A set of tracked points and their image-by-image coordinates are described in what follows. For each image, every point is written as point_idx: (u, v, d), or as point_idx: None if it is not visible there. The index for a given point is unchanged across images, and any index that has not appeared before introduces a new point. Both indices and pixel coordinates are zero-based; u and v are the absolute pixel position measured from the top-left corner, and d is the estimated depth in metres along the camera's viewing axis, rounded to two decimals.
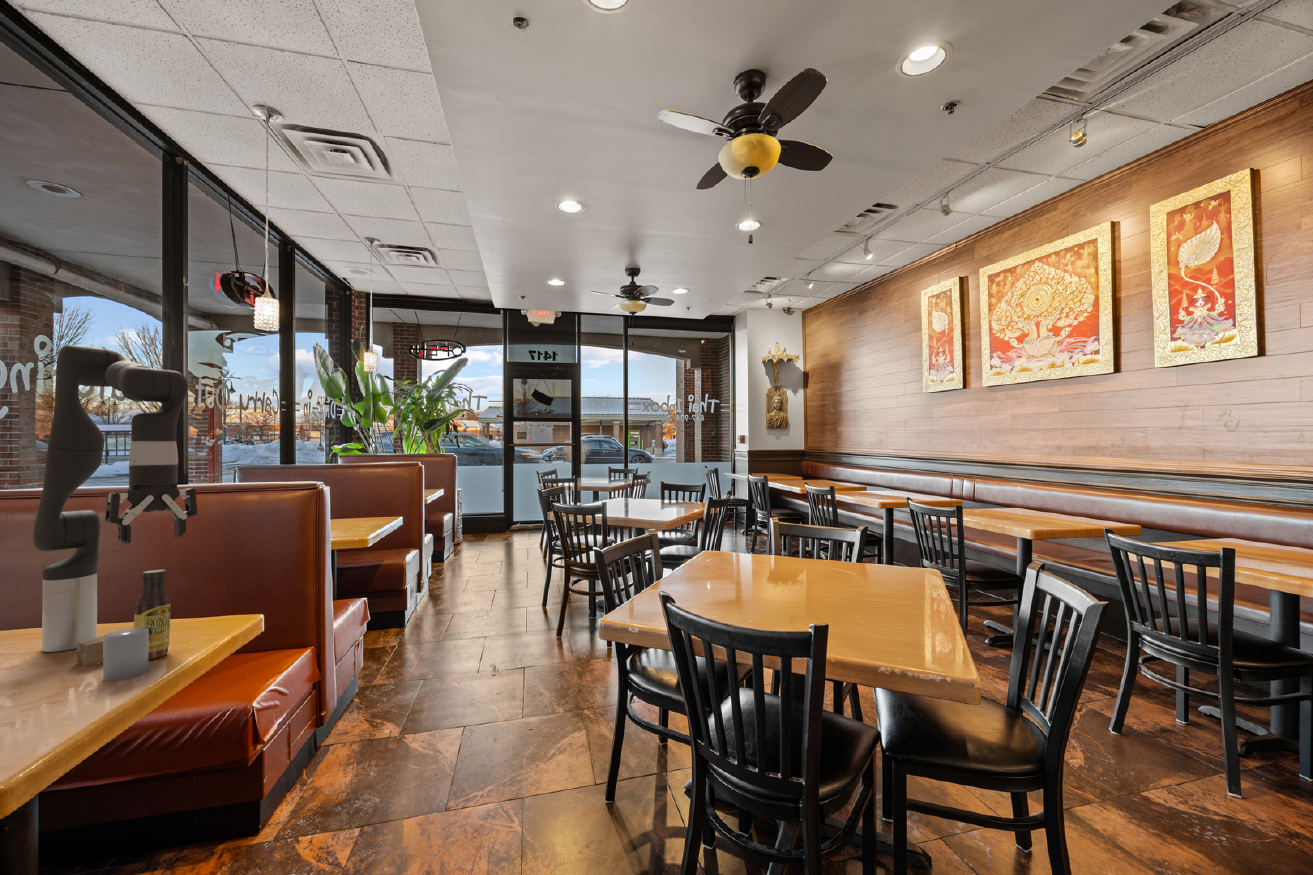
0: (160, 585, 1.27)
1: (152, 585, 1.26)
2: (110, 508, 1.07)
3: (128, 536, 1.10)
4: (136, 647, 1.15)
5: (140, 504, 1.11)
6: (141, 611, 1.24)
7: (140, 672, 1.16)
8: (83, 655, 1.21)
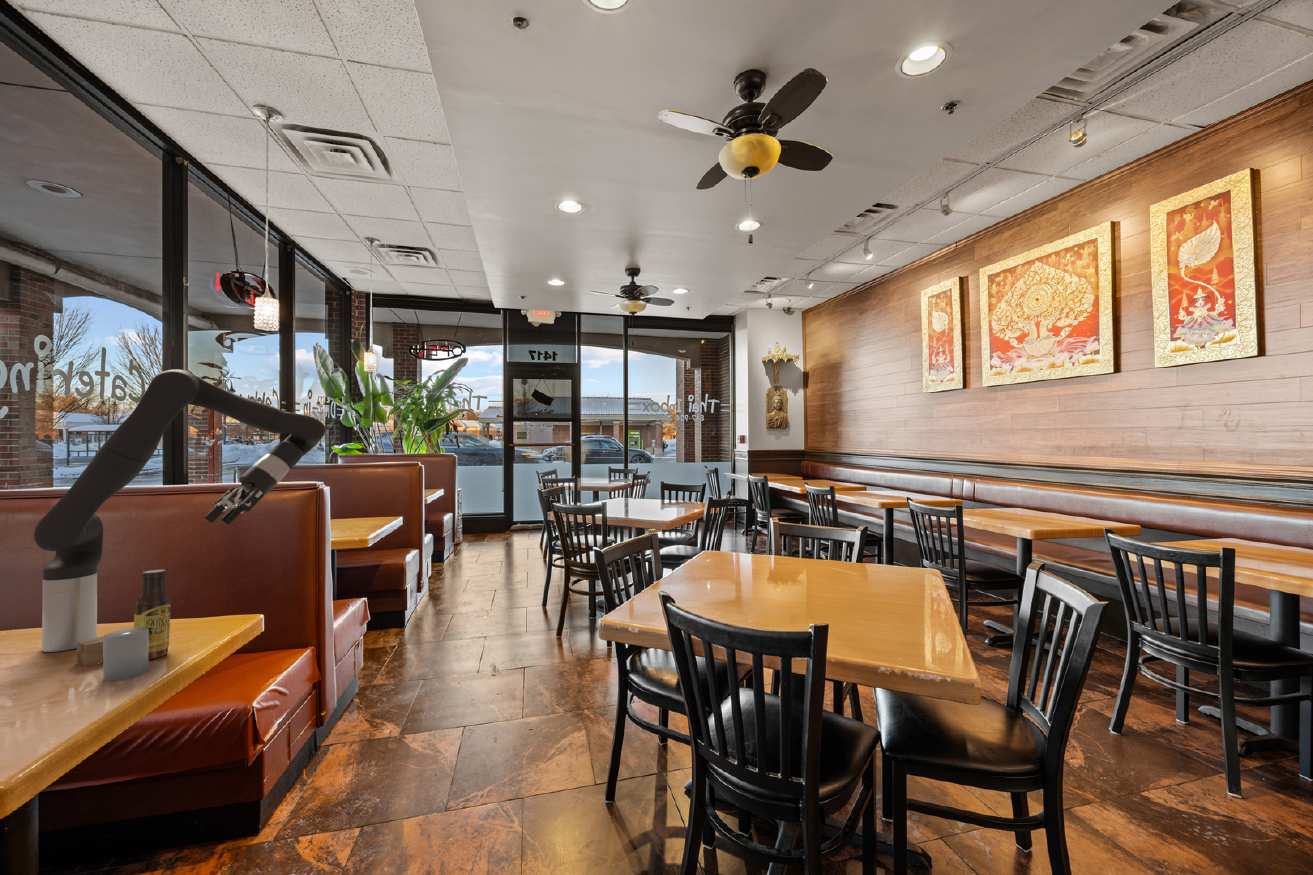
0: (160, 585, 1.27)
1: (152, 585, 1.26)
2: (255, 502, 1.40)
3: None
4: (136, 647, 1.15)
5: None
6: (141, 611, 1.24)
7: (140, 672, 1.16)
8: (83, 655, 1.21)
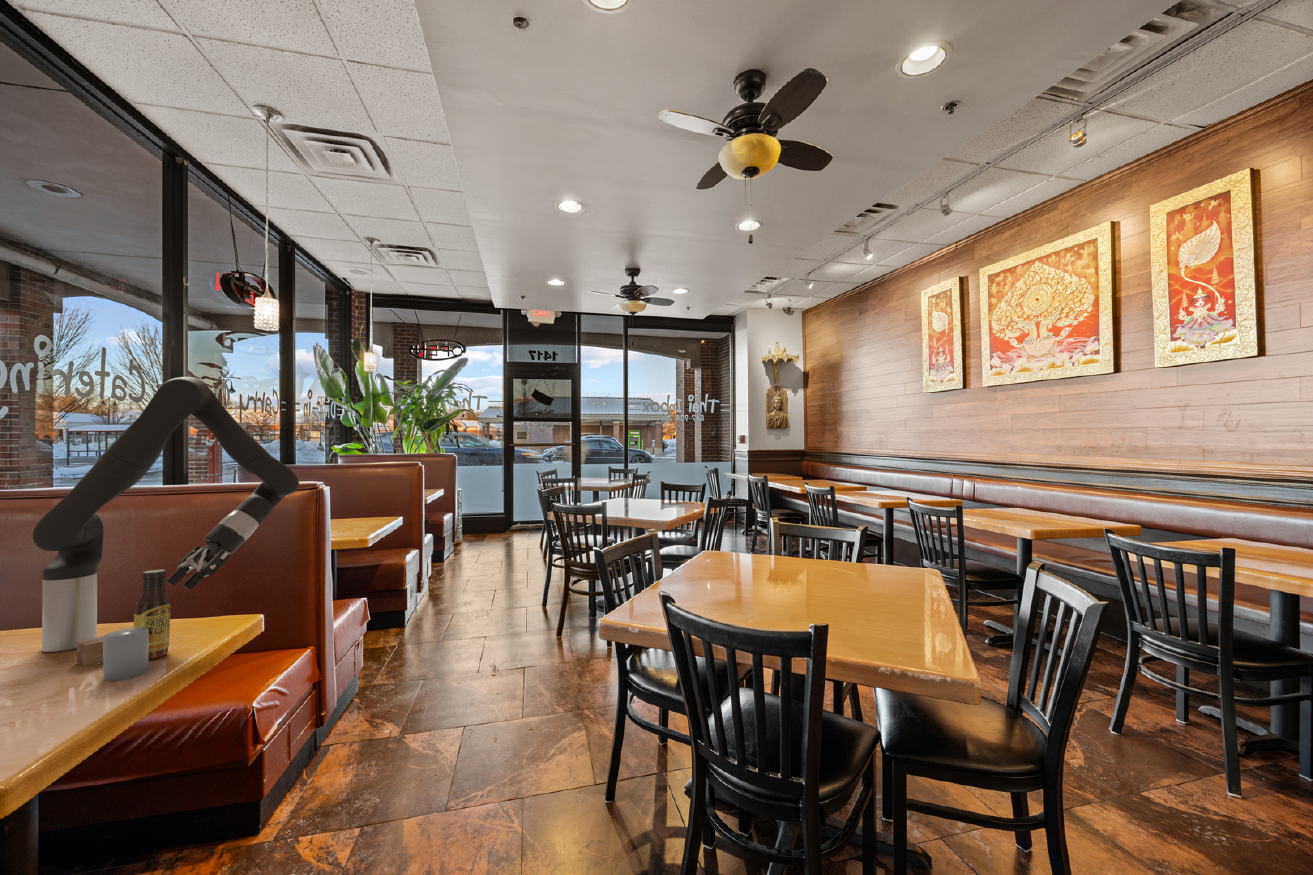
0: (160, 585, 1.27)
1: (152, 585, 1.26)
2: (220, 564, 1.33)
3: None
4: (136, 647, 1.15)
5: None
6: (141, 611, 1.24)
7: (140, 672, 1.16)
8: (83, 655, 1.21)
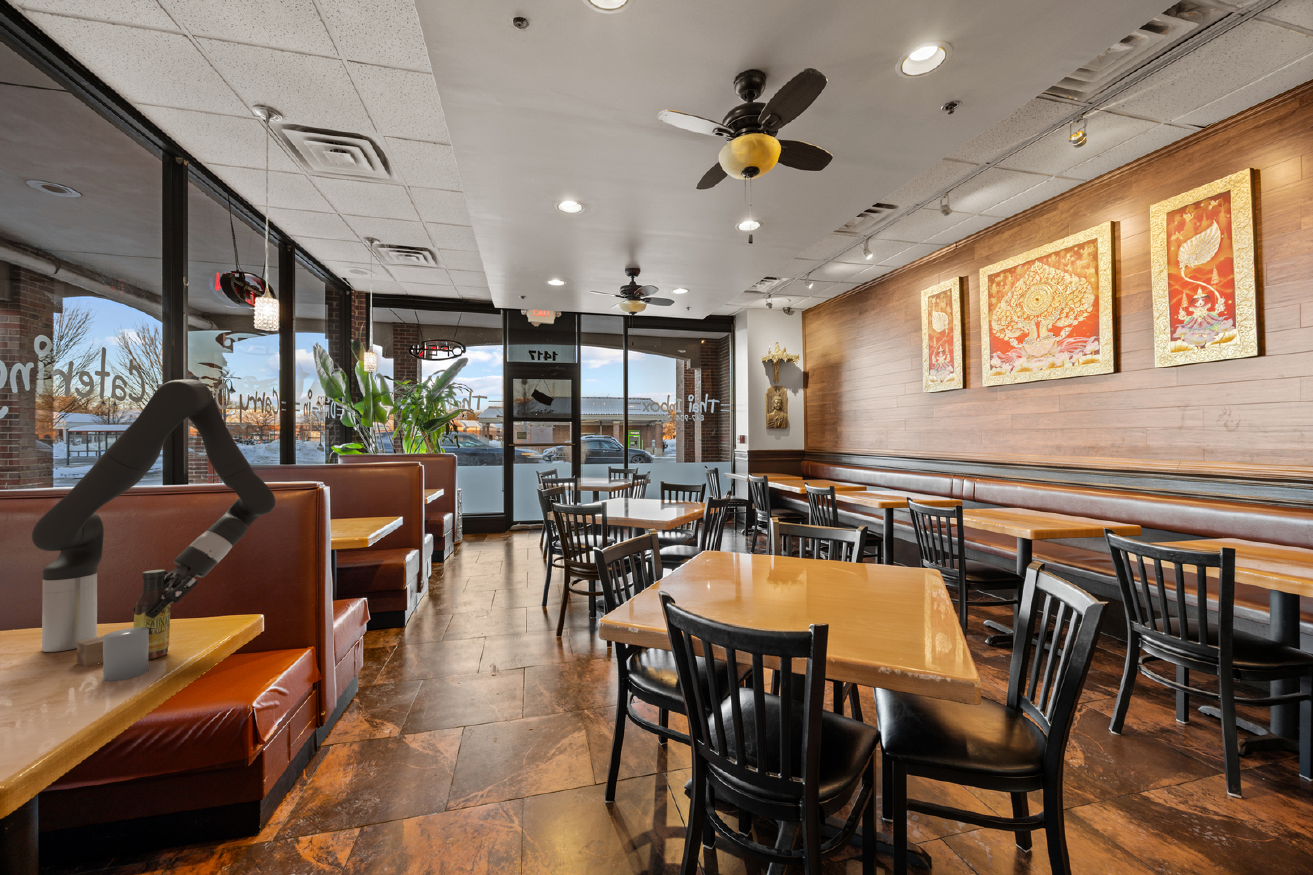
0: (159, 585, 1.27)
1: (152, 585, 1.26)
2: (186, 592, 1.27)
3: None
4: (136, 647, 1.15)
5: None
6: (141, 611, 1.24)
7: (140, 672, 1.16)
8: (83, 655, 1.21)
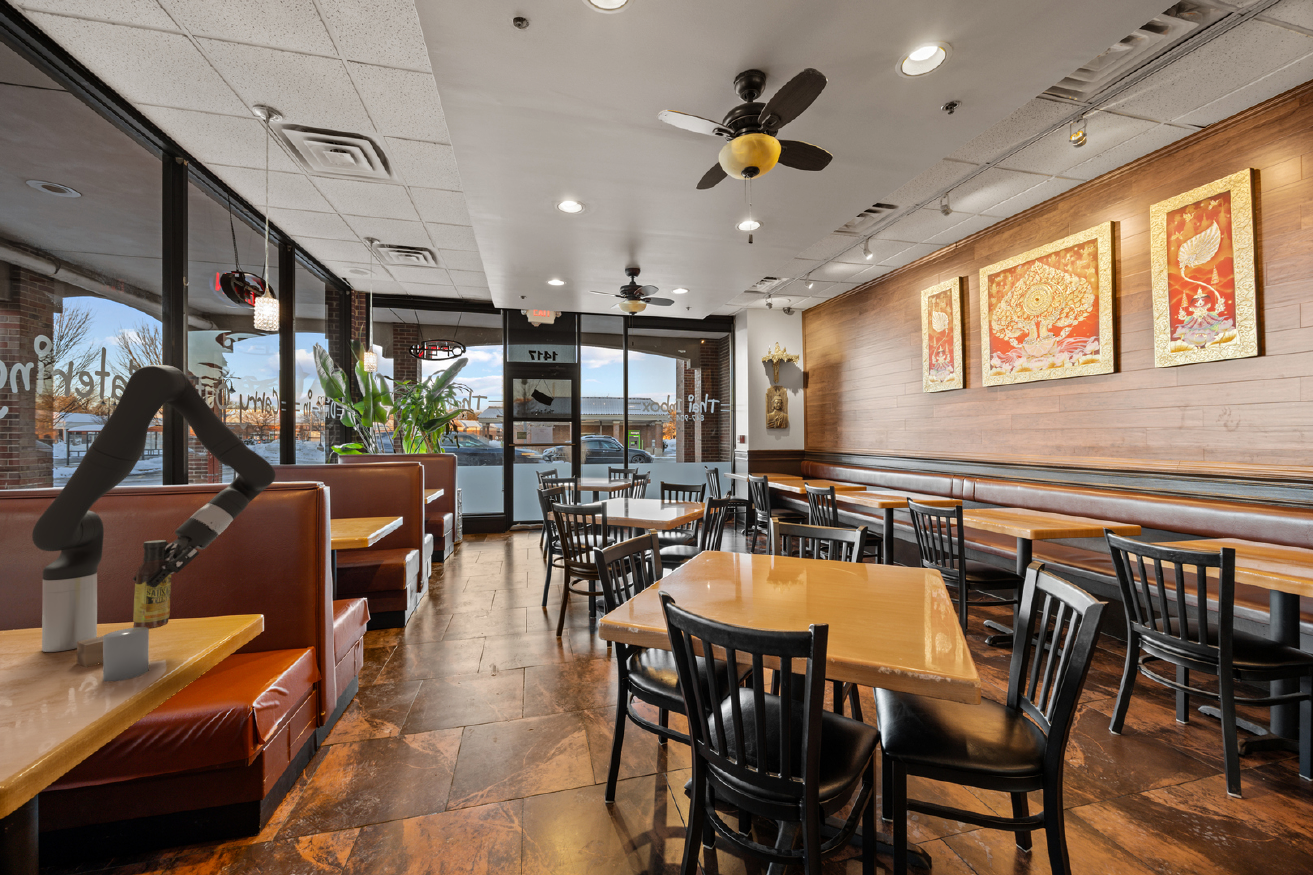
0: (160, 555, 1.27)
1: (153, 555, 1.26)
2: (187, 562, 1.27)
3: None
4: (136, 647, 1.15)
5: None
6: (142, 580, 1.24)
7: (140, 672, 1.16)
8: (83, 655, 1.21)
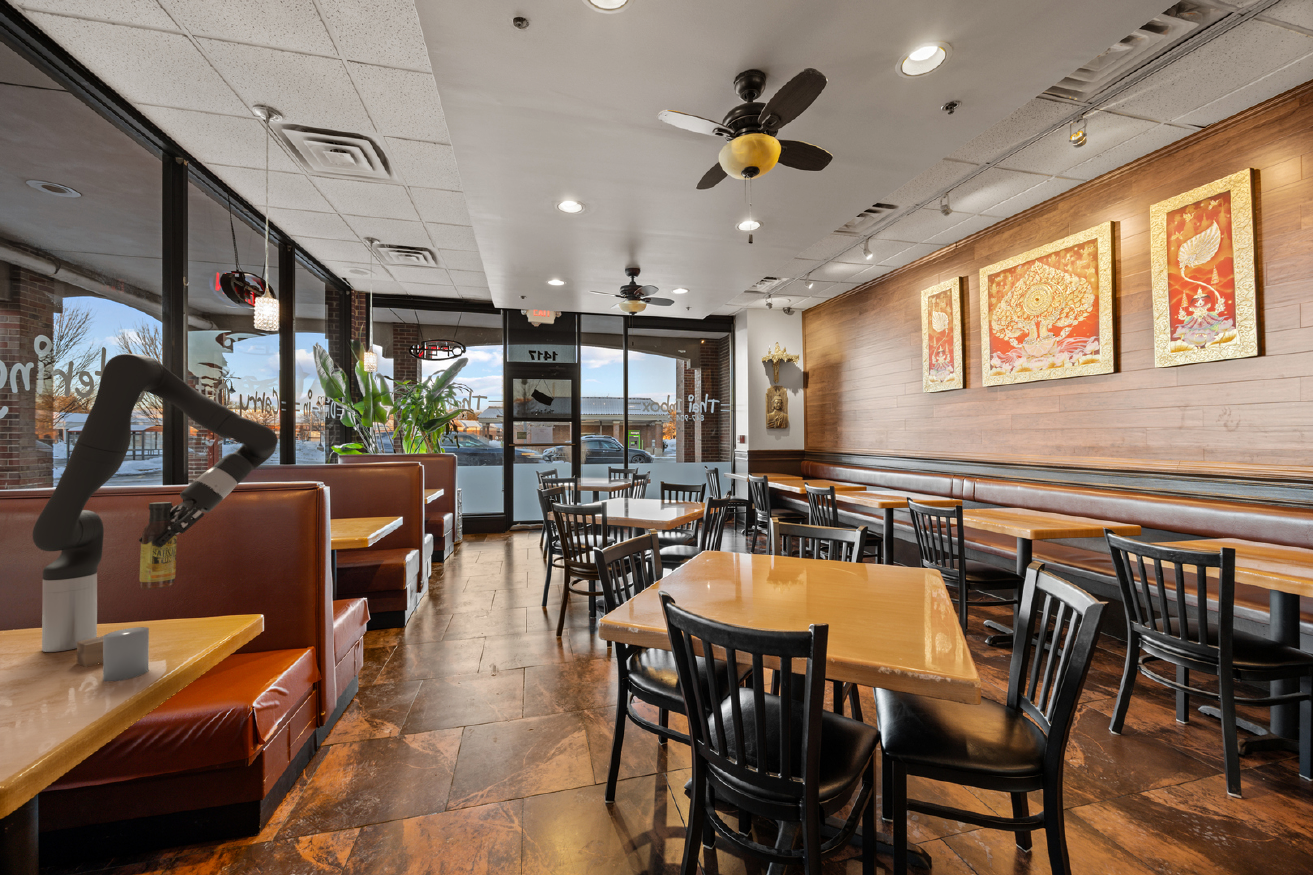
0: (166, 516, 1.28)
1: (159, 516, 1.27)
2: (192, 523, 1.28)
3: None
4: (136, 647, 1.15)
5: None
6: (147, 540, 1.25)
7: (140, 672, 1.16)
8: (83, 655, 1.21)
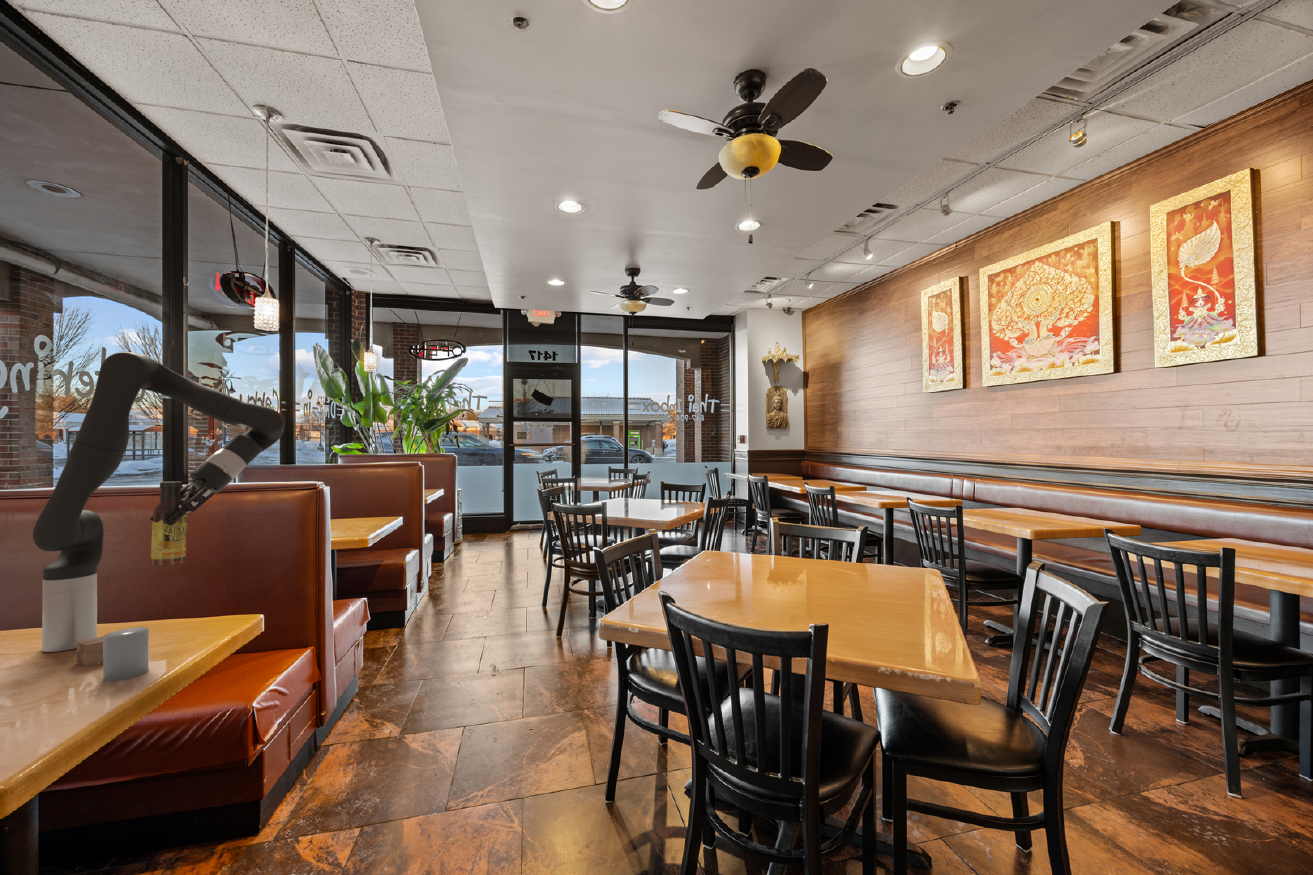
0: (177, 495, 1.30)
1: (170, 495, 1.29)
2: (202, 502, 1.30)
3: None
4: (136, 647, 1.15)
5: None
6: (159, 518, 1.27)
7: (140, 672, 1.16)
8: (83, 655, 1.21)
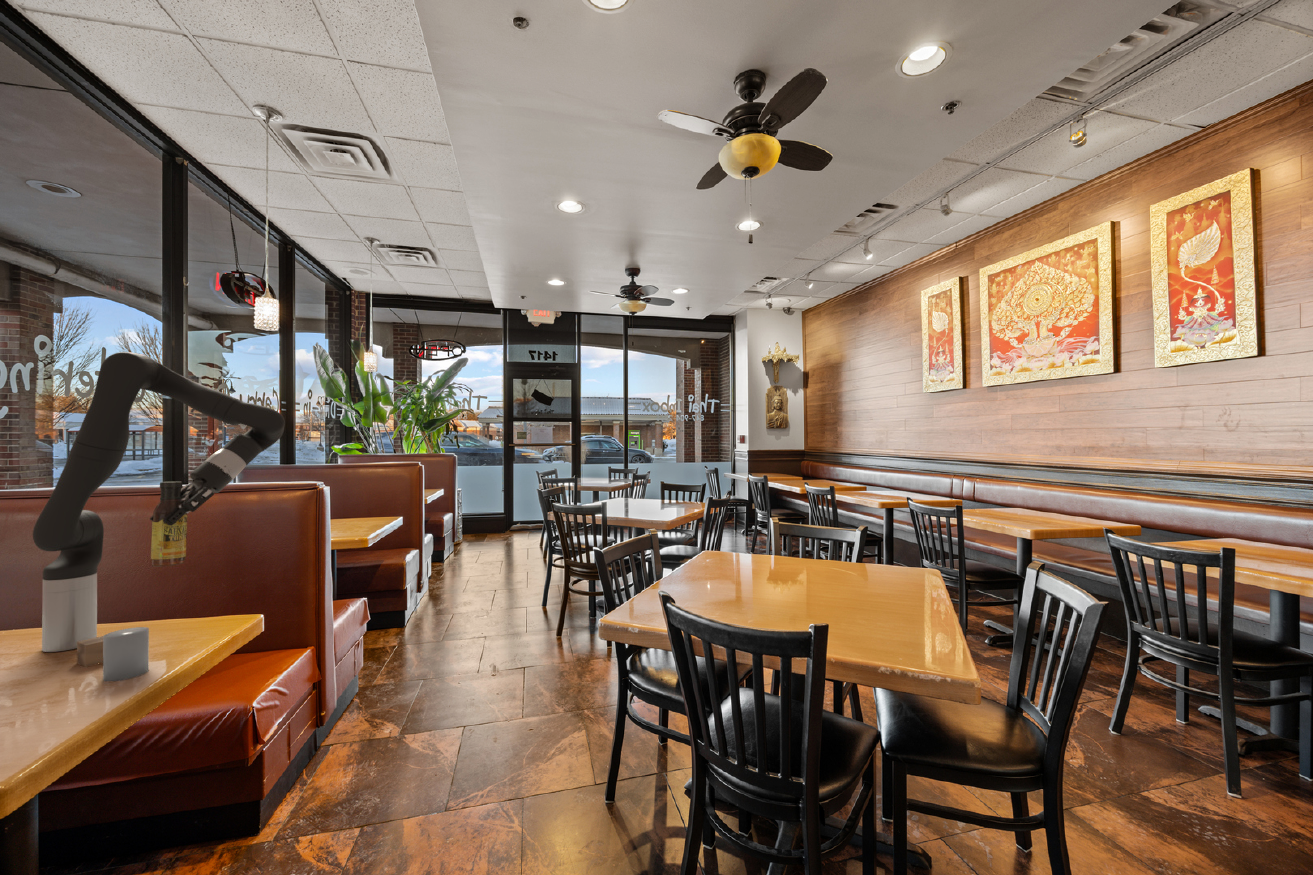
0: (177, 495, 1.30)
1: (170, 495, 1.29)
2: (202, 502, 1.30)
3: None
4: (136, 647, 1.15)
5: None
6: (159, 518, 1.27)
7: (140, 672, 1.16)
8: (83, 655, 1.21)
